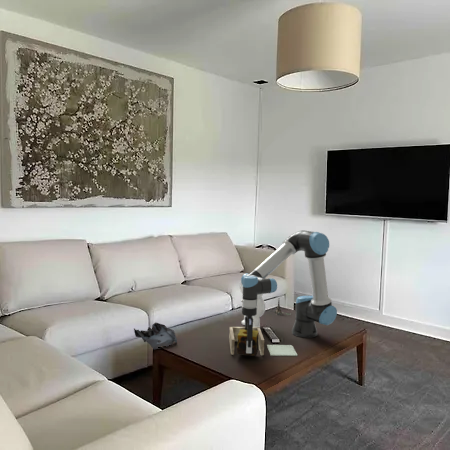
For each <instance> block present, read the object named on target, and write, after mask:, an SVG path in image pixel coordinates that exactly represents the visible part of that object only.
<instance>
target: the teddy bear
mask: <svg viewBox="0 0 450 450" xmlns="http://www.w3.org/2000/svg"><path fill="white" fill-rule="evenodd" d="M239 289H240V292H241V294H242V295H243V285H242V283H241V280H240V281H239ZM263 295H264V294H258V295H257V307H256V308H257V314H256V315H255V316H252V317H253V327H260V328H261V324H260V323H261V318H260V317H262V316H263V315H264V314H265V312H266V303H265V300H264V298H263ZM242 307H243V306H242V305H241V308H242ZM245 317H246V316H245V315H243V320H241V325H242V326H245Z"/></svg>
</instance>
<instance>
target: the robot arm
mask: <svg viewBox="0 0 450 450" xmlns="http://www.w3.org/2000/svg"><path fill="white" fill-rule="evenodd" d="M329 248H330V240H329V238H328V237H327V235H326V234H324V233H322V232H319V231H312V230H311V231H310V230H299V231H296V232H294V233H292V234H291V235H289V236H288V237H286V238H285V240H283V241H282V244H281V245H280V246H279V247H278V248H277V249H275V251H273V252H272V253H271V254H270V255H269V256H268V257H267V258H266V259H265V260H263V262H261V263H260V264H259V265H258V266H257V267H256V268H255V269H253V270H252V271H251V272H250V273H248V272H247V273H244V274H242V276H241V278H240V281H241V283H242V285H243V294H242V299H241V300H240V302H241V314H242V315H243V316H244V315H245V316H246V317H245V325H244V327H245V328H244V329H245V330H247V339H246V341H247V344H246V353H252V341H253V317H252V316H255V315H256V314H257V308H256V307H257V295H258V294H263V295H266V294H272V293H275V292H277V290H278V283H277V280H276V279H275V278H271V277H269V278H268V276H270V274H272V273H273V272H274V271H275V270H276V269H277V268H278V267H280V265H281V264H283V263H284V261H286V260H288V258H290V257H291V255H296V253H298V252H300V251H302V252H304V257H305V258H306V259H307V261H308V269H309V270H308V271H309V277H310V285H311V292H312V293H311V295H301V296H298V297H297V298H296V300H295V301H296V302H295V320H294V323H293V326H292V327H291V334H292V335H293V336H296V337H297V338H298V337H299V338H303V339H304V338H305V339H307V338H309V339H310V338H311V339H312V338H315V337H317V336H318V329H317V325H316V322H317V323H319V324H320V325H325V326H329V325H331V324H333V322H334V321H335V320H336V318H337V316H338V315H337V314H338V309H337V308H336V307H335V306H334V305H333V304H332V299H331V298H330V297H329V293H328V285H327V276H326V268H325V267H326V266H325V259H324V258H325V257H326V255H327V252H328V251H329ZM242 306H243V307H242Z"/></svg>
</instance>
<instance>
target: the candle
mask: <svg viewBox="0 0 450 450" xmlns="http://www.w3.org/2000/svg"><path fill="white" fill-rule="evenodd" d="M258 333H259V331H255V330H253V341H252V353H246V344H247V341H246V339H247V330H243V329H240V332H239V334H238V341H237V345H236V354H237V355H240V356H241V355H242V356H243V355H245V356H253V357H257V355H258V353H259V352H258V351H259V348H258V346H259V344H258Z"/></svg>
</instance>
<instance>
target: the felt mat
mask: <svg viewBox="0 0 450 450" xmlns="http://www.w3.org/2000/svg"><path fill="white" fill-rule="evenodd" d="M266 347H267V349H268V353H269V355H270V356H271V357H274V356H276V357H298V353H297V352H296V349H295V348H294V346H293V345H292V344H266Z"/></svg>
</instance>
